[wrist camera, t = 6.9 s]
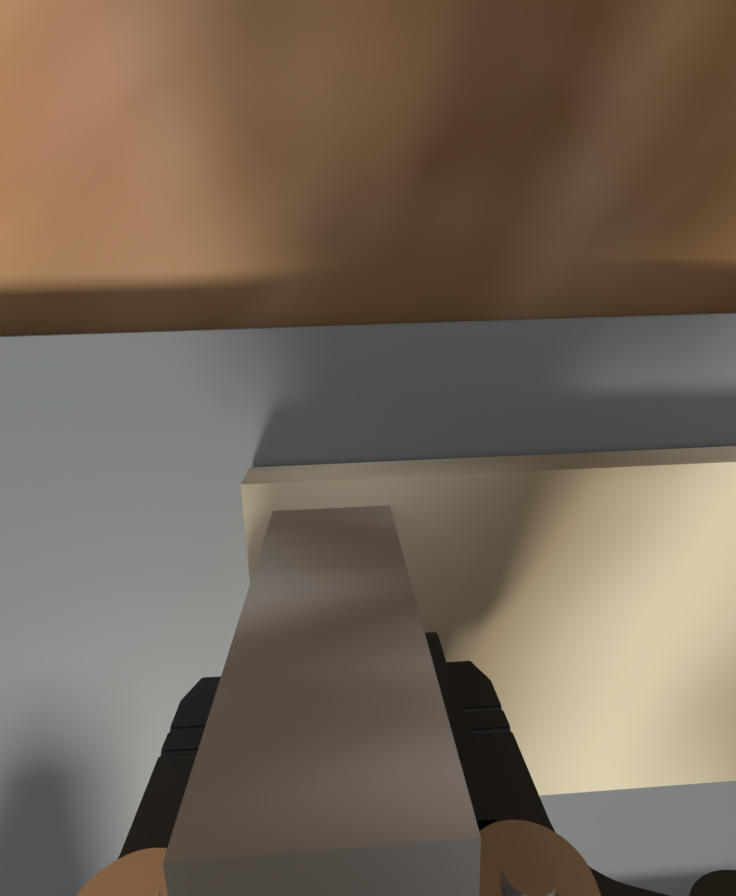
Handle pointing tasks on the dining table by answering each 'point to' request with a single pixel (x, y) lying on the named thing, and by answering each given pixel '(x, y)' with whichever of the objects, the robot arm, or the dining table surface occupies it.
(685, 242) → the dining table surface
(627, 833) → the lane board
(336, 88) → the dining table surface
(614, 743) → the birch strip
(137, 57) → the dining table surface
